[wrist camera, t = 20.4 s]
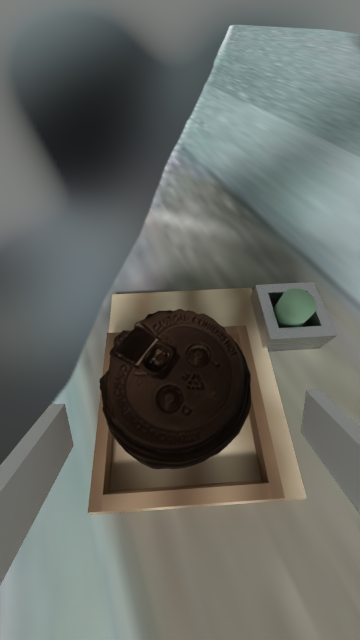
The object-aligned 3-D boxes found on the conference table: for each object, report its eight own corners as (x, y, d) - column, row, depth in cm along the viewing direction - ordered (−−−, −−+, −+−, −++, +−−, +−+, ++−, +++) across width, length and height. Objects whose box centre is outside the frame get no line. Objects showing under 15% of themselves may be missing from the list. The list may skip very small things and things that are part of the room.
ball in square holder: (300, 298, 30) (314, 281, 27) (319, 348, 27) (337, 335, 24) (247, 301, 30) (255, 284, 27) (260, 351, 27) (270, 339, 23)
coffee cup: (128, 377, 24) (81, 315, 13) (202, 355, 25) (220, 279, 14) (147, 472, 20) (104, 503, 9) (234, 440, 21) (297, 431, 10)
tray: (249, 292, 31) (255, 277, 28) (301, 496, 20) (319, 503, 17) (114, 298, 30) (108, 284, 28) (93, 511, 20) (80, 521, 17)
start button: (296, 304, 28) (310, 287, 25) (305, 331, 26) (322, 315, 23) (267, 306, 28) (277, 289, 25) (274, 332, 26) (287, 317, 23)
